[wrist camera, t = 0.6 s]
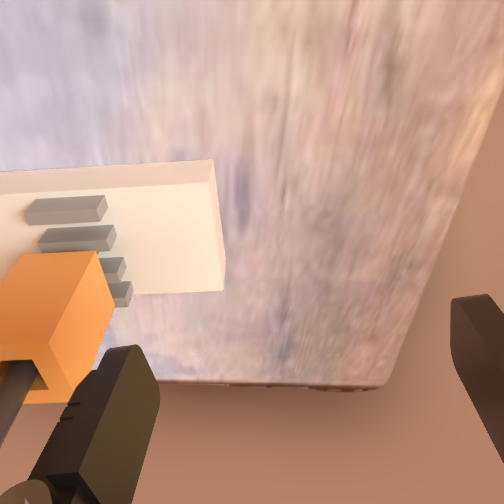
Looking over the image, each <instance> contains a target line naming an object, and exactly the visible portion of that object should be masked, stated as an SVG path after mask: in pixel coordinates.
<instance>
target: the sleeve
mask: <svg viewBox="0 0 504 504" xmlns="http://www.w3.org/2000/svg"><path fill="white" fill-rule="evenodd" d="M114 307H115V304H114V301H113V299H112V296H111V293H110V290H109V287H108V284H107V281H106V279H105V276H104V273H103V270H102V267H101V264H100V261H99V259H98V256H97V253H96V251H79V252H60V253H41V254H22V255H21V256H20V258H19V259H18V260H17V262H16V263H15V264H14V266H13V267H12V268H11V270H10V271H9V272H8V274H7V275H6V277H5V278H4V279H3V281H2V282H1V283H0V377H1V376H2V374H3V372H4V370H5V369H6V367H7V365H8V364H9V362H10V360H31V359H32V360H33V362H34V364H35V366H36V367H37V369H38V371H39V372H38V374H37V376H36V378H35V380H34V382H33V384H32V386H31V388H30V390H29V392H28V394H27V396H26V398H25V400H24V402H23V404H30V403H57V402H69V400H70V398H71V396H72V394H73V392H74V390H75V388H76V386H77V385H78V384H79V383H80V382H81V381H82V380H83V379H84V378H85V377H86V376H87V375H88V374H89V373H90V370H91V368H92V365H93V362H94V360H95V357H96V354H97V352H98V349H99V347H100V344H101V341H102V339H103V336H104V333H105V331H106V328H107V326H108V323H109V320H110V318H111V315H112V313H113V310H114Z"/></svg>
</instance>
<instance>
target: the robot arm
mask: <svg viewBox="0 0 504 504" xmlns="http://www.w3.org/2000/svg"><path fill="white" fill-rule="evenodd" d="M450 327H451V332H450V336H451V337H450V346H451V355H452V359H453V363H454V366H455V368H456V371H457V373H458V375H459V377H460V379H461V381H462V383H463V385H464V387H465V389H466V391H467V393H468V395H469V396H470V399H471V400H472V402H473V404H474V406H475V408H476V410H477V412H478V414H479V416H480V418H481V420H482V422H483V424H484V426H485V428H486V430H487V432H488V434H489V436H490V438H491V440H492V442H493V443H494V445H495V447H496V449H497V451H498V453H499V455H500V457H501V459H502V461H503V463H504V314H503V313H502V311H501V310H500V309H499V307H498V306H497V305H496V303H495V302H494V301H493V300H492V298H491V297H490V296H489V295H488V294H481V295H474V296H467V297H460V298H454V299H452V301H451V326H450ZM159 405H160V392H159V387H158V384H157V381H156V379H155V377H154V375H153V373H152V371H151V368H150V366H149V364H148V362H147V360H146V358H145V356H144V353H143V351H142V349H141V348H140V347H139V346H138V345H129V346H122V347H115V348H110V349H108V350H107V351H106V352H105V354H104V356H103V358H102V360H101V362H100V364H99V366H98V368H97V370H91V372H90V373H89V374H88V375H87V376H86V377H85V378H84V379H83V380H82V381H81V382H80V383H79V384H78V385H77V386H76V388H75V390H74V392H73V394H72V396H71V398H70V400H69V402H68V407H66V408H65V409H64V411H63V413H62V415H61V417H60V422H58V423H57V425H56V427H55V429H54V430H53V432H52V434H51V436H50V438H49V440H48V442H47V444H46V446H45V447H44V449H43V451H42V453H41V455H40V457H39V459H38V461H37V463H36V465H35V467H34V468H33V470H32V472H31V474H30V476H29V478H28V479H27V481H24V482H21V483H19V484H17V485H15V486H13V487H11V488H10V489H8V490H7V491H5V492H4V493H3V494H2V495H1V496H0V504H131V503H132V500H133V496H134V493H135V489H136V486H137V482H138V479H139V476H140V472H141V468H142V465H143V461H144V458H145V455H146V451H147V447H148V444H149V441H150V437H151V434H152V430H153V427H154V423H155V420H156V416H157V413H158V410H159Z"/></svg>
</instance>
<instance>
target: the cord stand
mask: <svg viewBox="0 0 504 504" xmlns="http://www.w3.org/2000/svg"><path fill="white" fill-rule="evenodd" d="M79 251H96V253H97V256H98V259H99V261H100V264H101V267H102V270H103V273H104V276H105V279H106V281H107V284H108V287H109V290H110V293H111V296H112V299H113V301H114V304H115V307H128V306H129V303H130V300H131V297H132V295H140V294H160V293H181V292H201V291H222V290H224V279H225V266H226V258H225V250H224V242H223V235H222V227H221V219H220V211H219V203H218V195H217V187H216V179H215V171H214V164H213V159H206V160H189V161H173V162H156V163H140V164H123V165H107V166H90V167H74V168H57V169H41V170H24V171H7V172H0V283H1V282H2V281H3V279H4V278H5V277H6V275H7V274H8V272H9V271H10V270H11V268H12V267H13V266H14V264H15V263H16V262H17V260H18V259H19V258H20V256H21V255H22V254H41V253H60V252H79ZM38 372H39V371H38V369H37V367H36V366H35V364H34V362H33V360H32V359H31V360H10V362H9V364H8V365H7V367H6V369H5V370H4V372H3V374H2V376H1V377H0V448H1V446H2V444H3V442H4V440H5V438H6V436H7V434H8V432H9V430H10V428H11V425H12V424H13V422H14V420H15V418H16V416H17V414H18V412H19V410H20V408H21V406H22V404H23V402H24V400H25V398H26V396H27V394H28V392H29V390H30V388H31V386H32V384H33V382H34V380H35V378H36V376H37V374H38Z"/></svg>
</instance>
